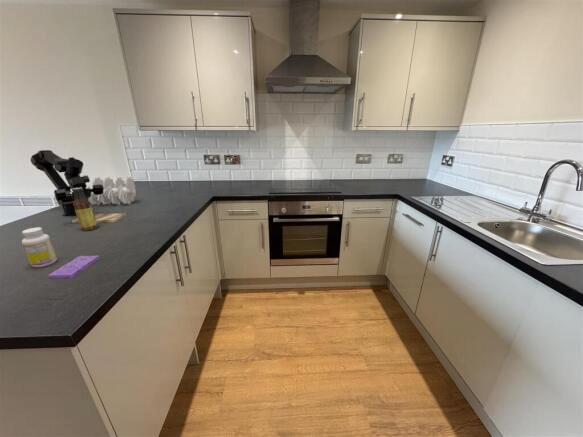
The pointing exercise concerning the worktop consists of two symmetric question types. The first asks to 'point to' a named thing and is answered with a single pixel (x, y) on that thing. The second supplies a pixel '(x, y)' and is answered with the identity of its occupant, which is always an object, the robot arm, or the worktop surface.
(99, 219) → the beech cutting board
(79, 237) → the worktop surface
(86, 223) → the sauce bottle
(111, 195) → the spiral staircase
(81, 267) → the sponges
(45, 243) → the supplement bottle
